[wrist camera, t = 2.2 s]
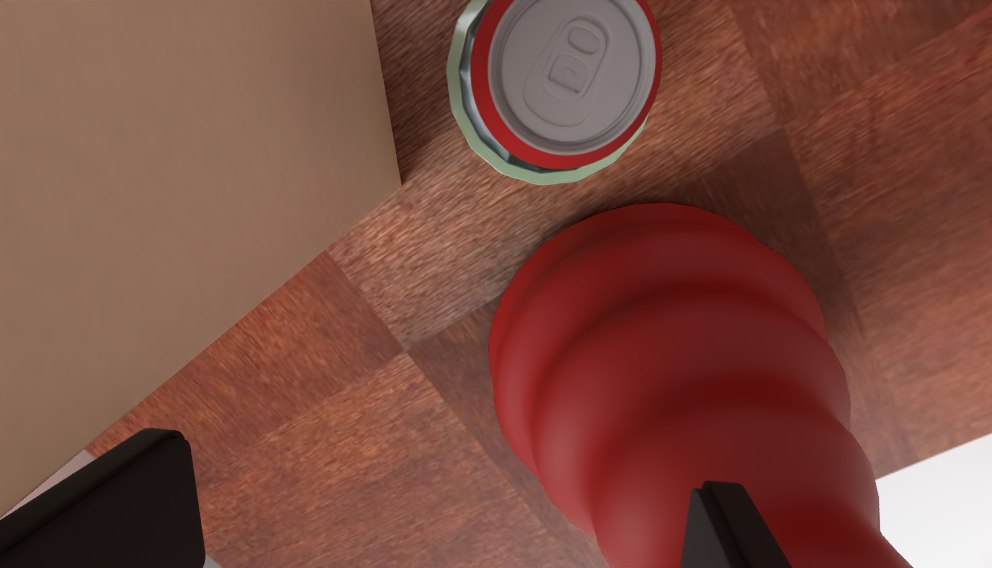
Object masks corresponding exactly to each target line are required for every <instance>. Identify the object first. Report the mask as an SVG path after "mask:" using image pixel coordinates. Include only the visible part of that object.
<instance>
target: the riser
mask: <svg viewBox="0 0 992 568" xmlns="http://www.w3.org/2000/svg"><path fill="white" fill-rule="evenodd" d="M401 187H402V185H401V179H400V173H399V167H398V162H397V156H396V150H395V144H394V138H393V133H392V127H391V121H390V115H389V109H388V104H387V98H386V92H385V86H384V80H383V75H382V69H381V63H380V57H379V51H378V46H377V40H376V34H375V28H374V22H373V17H372V11H371V5H370V0H0V518H1V517H2V516H3V515H5V514H6V513H7V512H8V511H9V510H11V509H12V508H13V507H14V506H15V505H16V504H18V503H19V502H20V501H22V500H23V499H24V498H25V497H26V496H28V495H29V494H30V493H31V492H32V491H34V490H35V489H36V488H37V487H39V485H41V484H42V483H43V482H45V481H46V480H47V479H48V478H49V477H50V476H52V475H53V474H54V473H55V472H56V471H58V470H59V469H60V468H62V467H63V466H64V465H65V464H66V463H68V462H69V461H70V460H71V459H72V458H74V457H75V456H76V455H77V454H78V453H80V452H81V451H82V450H83V449H85V448H86V447H87V446H88V445H89V444H91V443H92V442H93V441H94V440H95V439H97V438H98V437H99V436H100V435H101V434H103V433H104V432H105V431H106V430H108V429H109V428H110V427H111V426H112V425H114V424H115V423H116V422H117V421H118V420H120V419H121V418H122V417H123V416H124V415H126V414H127V413H128V412H129V411H131V410H132V409H133V408H134V407H135V406H137V405H138V404H139V403H140V402H141V401H143V400H144V399H145V398H146V397H147V396H149V395H150V394H151V393H152V392H154V391H155V390H156V389H157V388H158V387H160V386H161V385H162V384H163V383H164V382H166V381H167V380H168V379H169V378H171V377H172V376H173V375H174V374H175V373H177V372H178V371H179V370H180V369H181V368H183V367H184V366H185V365H186V364H187V363H189V362H190V361H191V360H192V359H194V358H195V357H196V356H197V355H198V354H200V353H201V352H202V351H203V350H204V349H206V348H207V347H208V346H209V345H210V344H212V343H213V342H214V341H215V340H217V339H218V338H219V337H220V336H221V335H223V334H224V333H225V332H226V331H227V330H229V329H230V328H231V327H232V326H233V325H235V324H236V323H237V322H238V321H240V320H241V319H242V318H243V317H244V316H246V315H247V314H248V313H249V312H250V311H252V310H253V309H254V308H255V307H256V306H258V305H259V304H260V303H261V302H263V301H264V300H265V299H266V298H267V297H269V296H270V295H271V294H272V293H273V292H275V291H276V290H277V289H278V288H279V287H281V286H282V285H283V284H284V283H286V282H287V281H288V280H289V279H290V278H292V277H293V276H294V275H295V274H296V273H298V272H299V271H300V270H301V269H302V268H304V267H305V266H306V265H307V264H309V263H310V262H311V261H312V260H313V259H315V258H316V257H317V256H318V255H319V254H321V253H322V252H323V251H324V250H326V249H327V248H328V247H329V246H330V245H332V244H333V243H334V242H335V241H336V240H338V239H339V238H340V237H341V236H342V235H344V234H345V233H346V232H347V231H349V230H350V229H351V228H352V227H353V226H355V225H356V224H357V223H358V222H359V221H361V220H362V219H363V218H364V217H365V216H367V215H368V214H369V213H370V212H372V211H373V210H374V209H375V208H376V207H378V206H379V205H380V204H381V203H382V202H384V201H385V200H386V199H387V198H388V197H390V196H391V195H392V194H393V193H395V192H396V191H397V190H398V189H399V188H401Z"/></svg>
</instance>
